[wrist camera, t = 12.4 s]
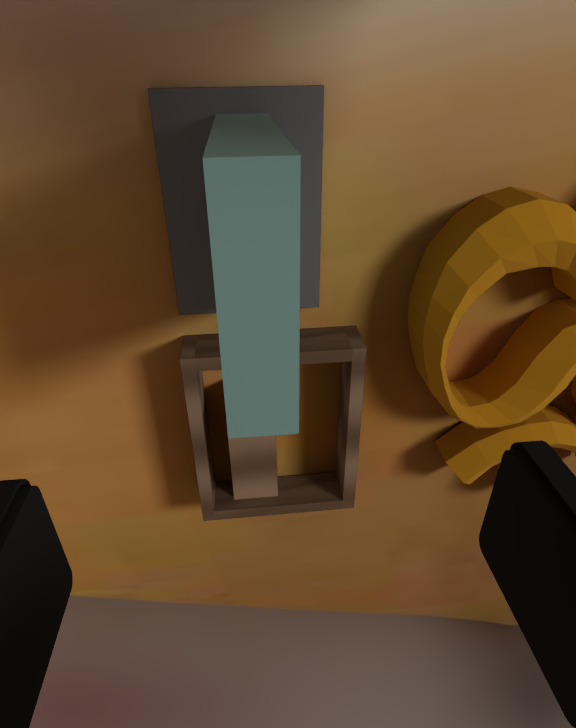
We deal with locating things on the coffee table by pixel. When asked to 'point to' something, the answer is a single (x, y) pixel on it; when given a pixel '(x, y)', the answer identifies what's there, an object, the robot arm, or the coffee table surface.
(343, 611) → the coffee table surface
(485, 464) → the decorative symbol
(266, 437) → the offcut stack
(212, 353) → the brown rectangular frame
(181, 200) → the mat
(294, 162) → the teal rectangular block
